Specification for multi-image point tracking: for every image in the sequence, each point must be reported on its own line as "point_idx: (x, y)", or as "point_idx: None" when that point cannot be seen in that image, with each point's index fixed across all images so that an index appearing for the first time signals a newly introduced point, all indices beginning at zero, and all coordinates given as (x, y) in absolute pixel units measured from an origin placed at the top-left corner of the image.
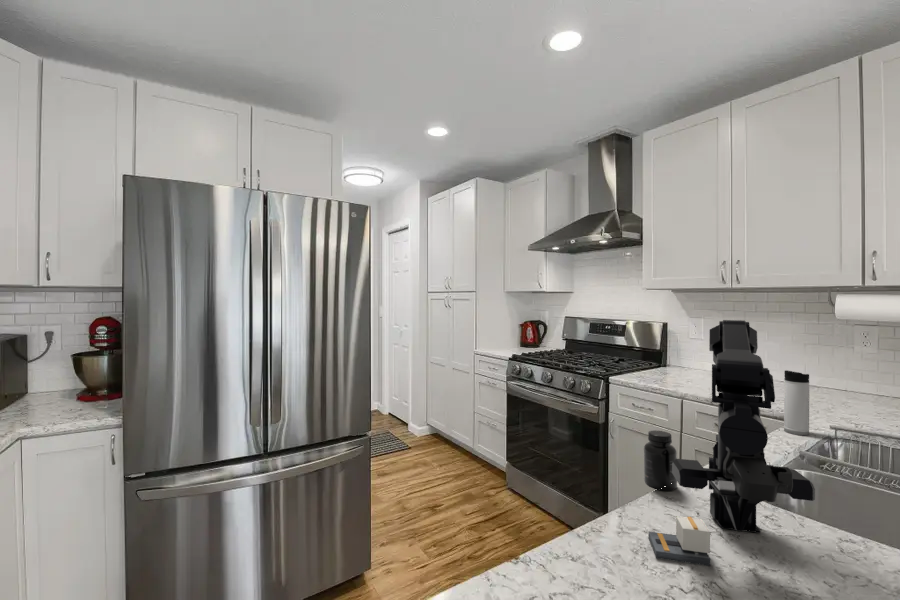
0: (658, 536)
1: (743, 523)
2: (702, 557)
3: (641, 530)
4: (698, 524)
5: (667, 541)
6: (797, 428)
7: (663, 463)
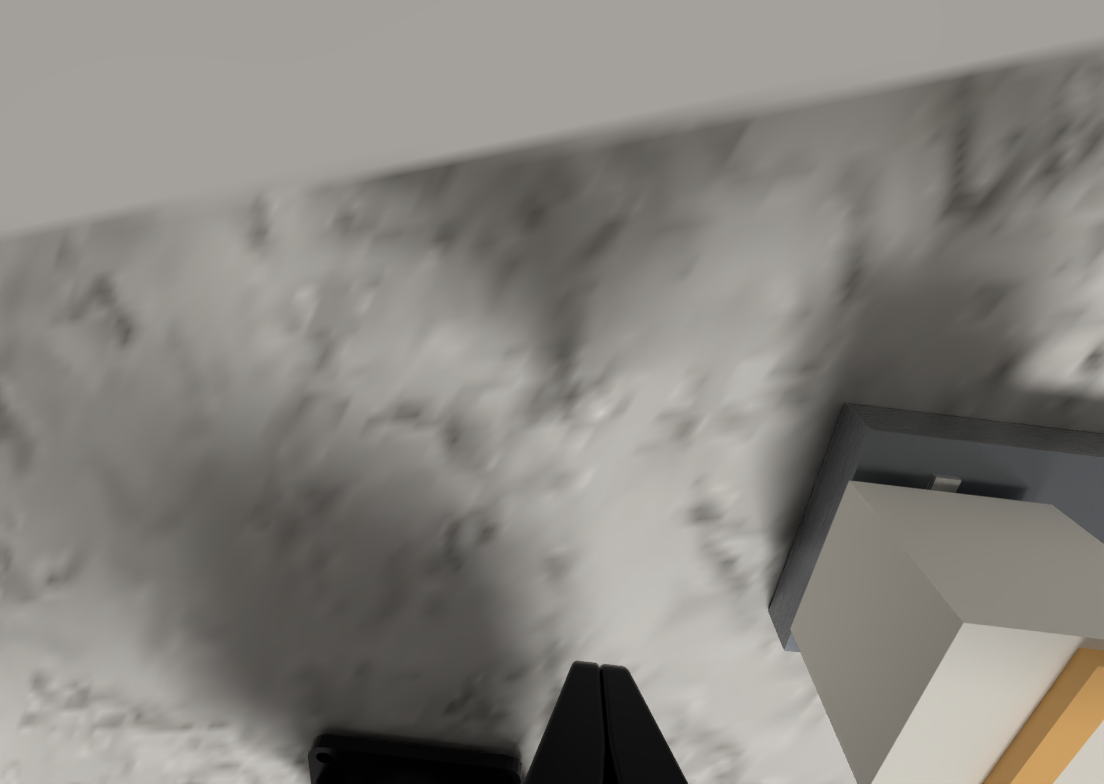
0: None
1: (573, 741)
2: (930, 436)
3: None
4: (983, 727)
5: None
6: None
7: None
